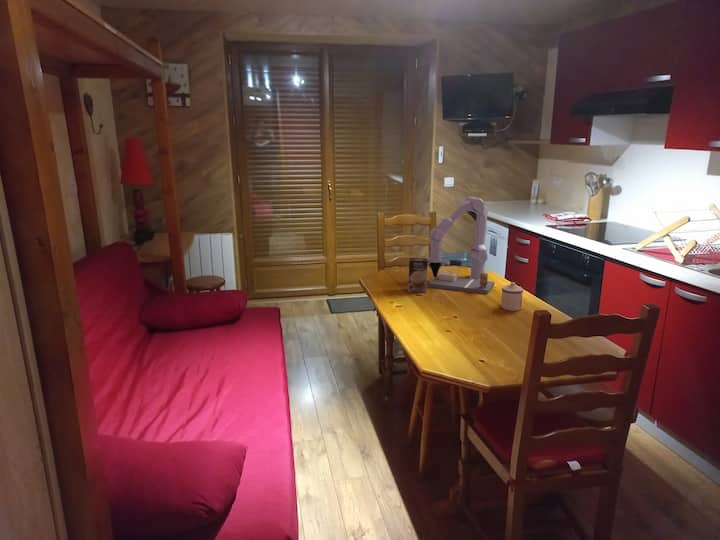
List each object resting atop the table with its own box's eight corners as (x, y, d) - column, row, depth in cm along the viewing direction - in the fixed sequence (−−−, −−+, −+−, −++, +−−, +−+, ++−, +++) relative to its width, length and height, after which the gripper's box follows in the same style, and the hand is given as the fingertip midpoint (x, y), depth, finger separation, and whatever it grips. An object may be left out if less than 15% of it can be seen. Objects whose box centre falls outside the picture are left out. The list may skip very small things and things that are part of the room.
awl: (480, 286, 244) (481, 272, 242) (487, 286, 243) (488, 273, 241) (478, 287, 241) (479, 274, 239) (486, 288, 239) (487, 274, 238)
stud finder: (441, 277, 260) (442, 271, 259) (456, 278, 257) (456, 273, 256) (439, 279, 256) (439, 273, 255) (454, 281, 252) (454, 275, 252)
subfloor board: (437, 278, 264) (437, 275, 264) (494, 285, 251) (494, 281, 251) (428, 286, 250) (428, 283, 250) (487, 294, 238) (487, 290, 237)
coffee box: (408, 292, 242) (408, 260, 238) (408, 288, 248) (408, 257, 244) (426, 292, 241) (427, 261, 237) (426, 288, 247) (427, 257, 243)
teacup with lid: (524, 311, 214) (526, 285, 211) (503, 311, 214) (505, 286, 211) (516, 302, 226) (518, 278, 223) (496, 302, 226) (497, 278, 223)
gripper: (420, 251, 255) (419, 276, 259) (447, 254, 249) (446, 280, 253) (424, 249, 261) (424, 273, 265) (451, 251, 255) (450, 276, 259)
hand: (435, 276), depth 259 cm, fingers closed
